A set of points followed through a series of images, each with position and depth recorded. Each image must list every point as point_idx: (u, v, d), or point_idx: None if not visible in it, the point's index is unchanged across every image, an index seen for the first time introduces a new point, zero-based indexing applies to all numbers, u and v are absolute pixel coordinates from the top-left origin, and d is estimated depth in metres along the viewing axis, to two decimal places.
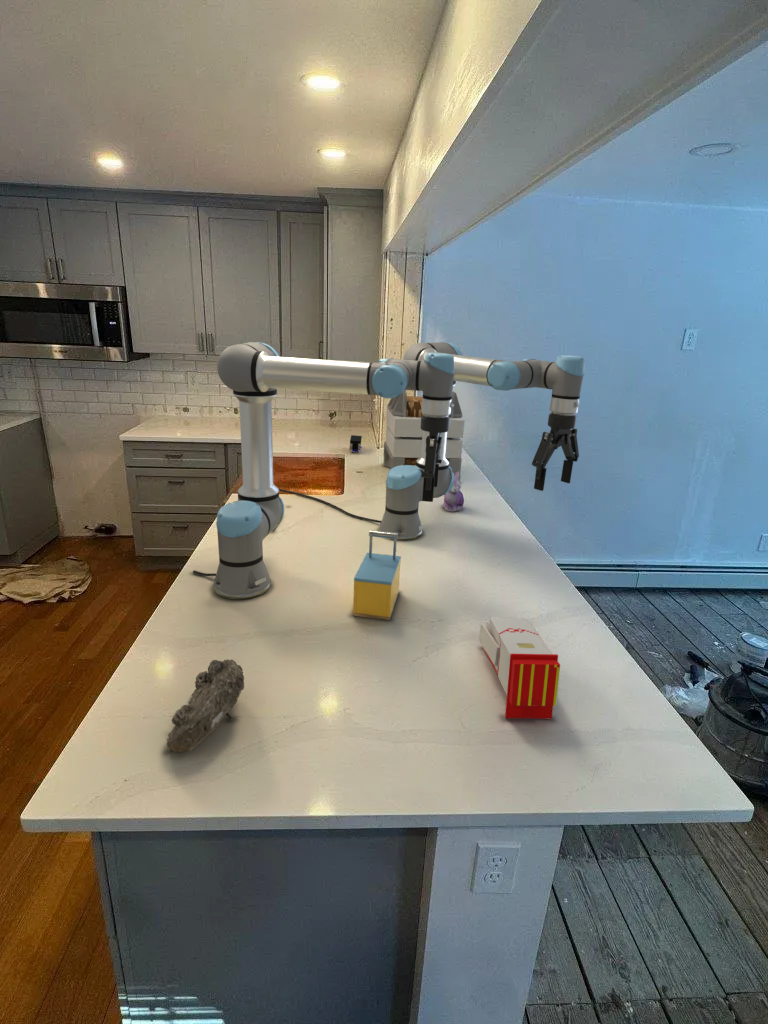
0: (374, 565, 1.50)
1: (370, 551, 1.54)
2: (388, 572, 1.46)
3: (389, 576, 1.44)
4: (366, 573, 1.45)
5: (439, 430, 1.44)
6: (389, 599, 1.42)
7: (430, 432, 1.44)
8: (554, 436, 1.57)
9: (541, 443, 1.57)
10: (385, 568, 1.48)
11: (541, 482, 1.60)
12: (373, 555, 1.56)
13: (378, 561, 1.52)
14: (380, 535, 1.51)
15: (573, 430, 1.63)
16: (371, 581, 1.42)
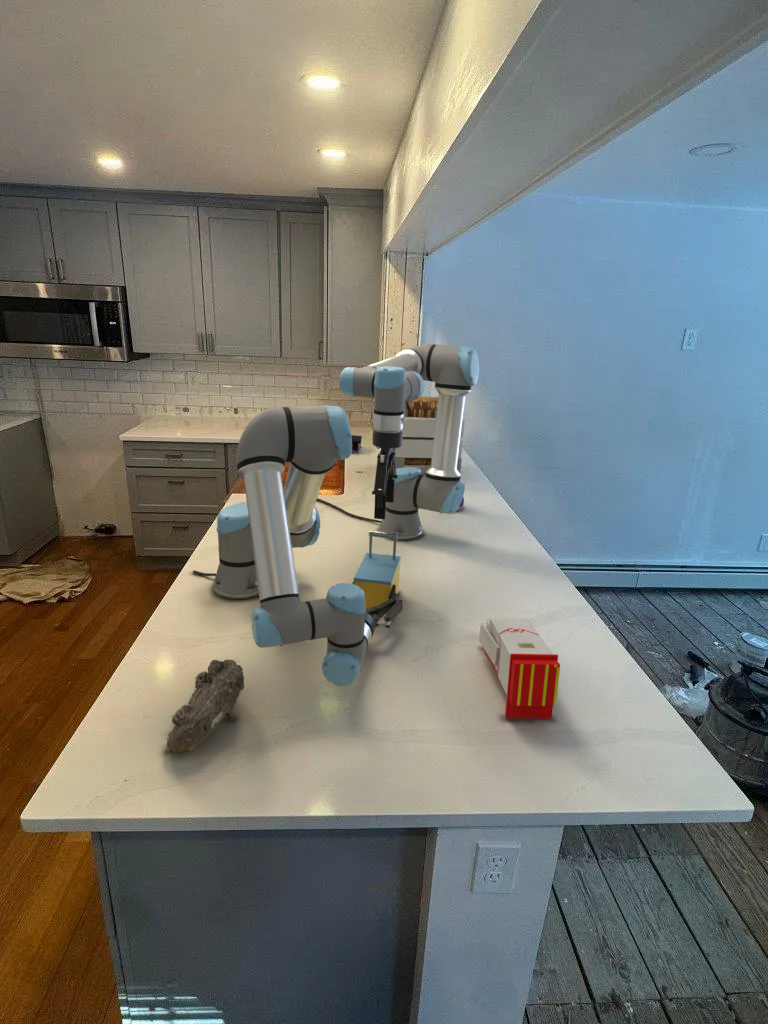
0: (374, 565, 1.50)
1: (370, 551, 1.54)
2: (388, 572, 1.46)
3: (389, 576, 1.44)
4: (366, 573, 1.45)
5: None
6: None
7: None
8: None
9: (378, 468, 1.38)
10: (385, 568, 1.48)
11: (383, 510, 1.42)
12: (373, 555, 1.56)
13: (378, 561, 1.52)
14: (380, 535, 1.51)
15: None
16: (371, 581, 1.42)
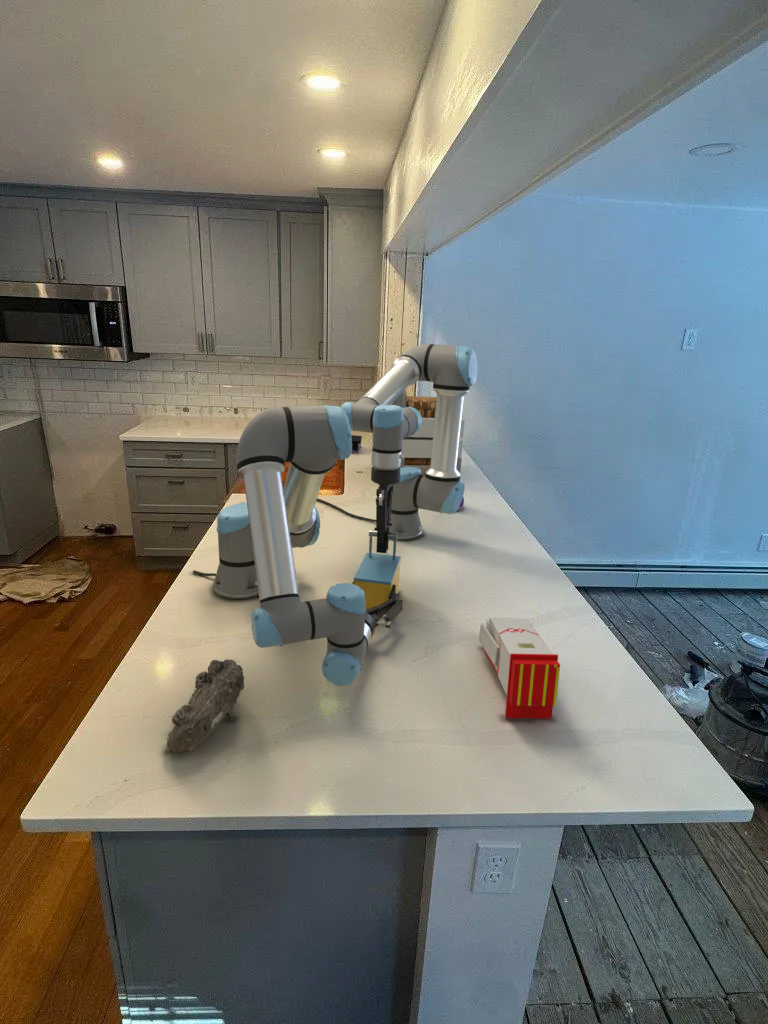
0: (374, 565, 1.50)
1: (370, 551, 1.54)
2: (388, 572, 1.46)
3: (389, 576, 1.44)
4: (366, 573, 1.45)
5: None
6: None
7: None
8: (385, 493, 1.44)
9: (378, 510, 1.44)
10: (385, 568, 1.48)
11: (384, 545, 1.51)
12: (373, 555, 1.55)
13: (378, 561, 1.52)
14: None
15: (390, 486, 1.53)
16: (371, 581, 1.42)
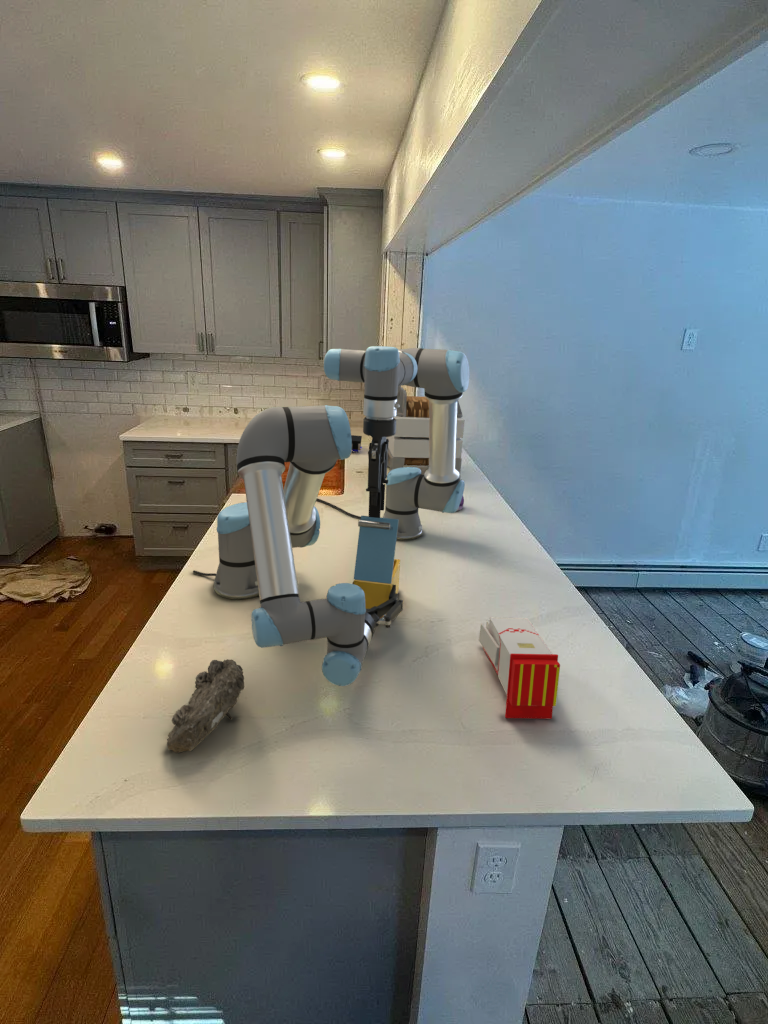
0: (371, 547, 1.42)
1: None
2: (386, 561, 1.41)
3: (388, 571, 1.41)
4: (364, 567, 1.42)
5: None
6: None
7: None
8: (379, 447, 1.27)
9: (370, 464, 1.27)
10: (383, 552, 1.42)
11: (377, 508, 1.33)
12: None
13: (375, 536, 1.42)
14: (371, 527, 1.36)
15: (385, 440, 1.36)
16: (371, 581, 1.42)
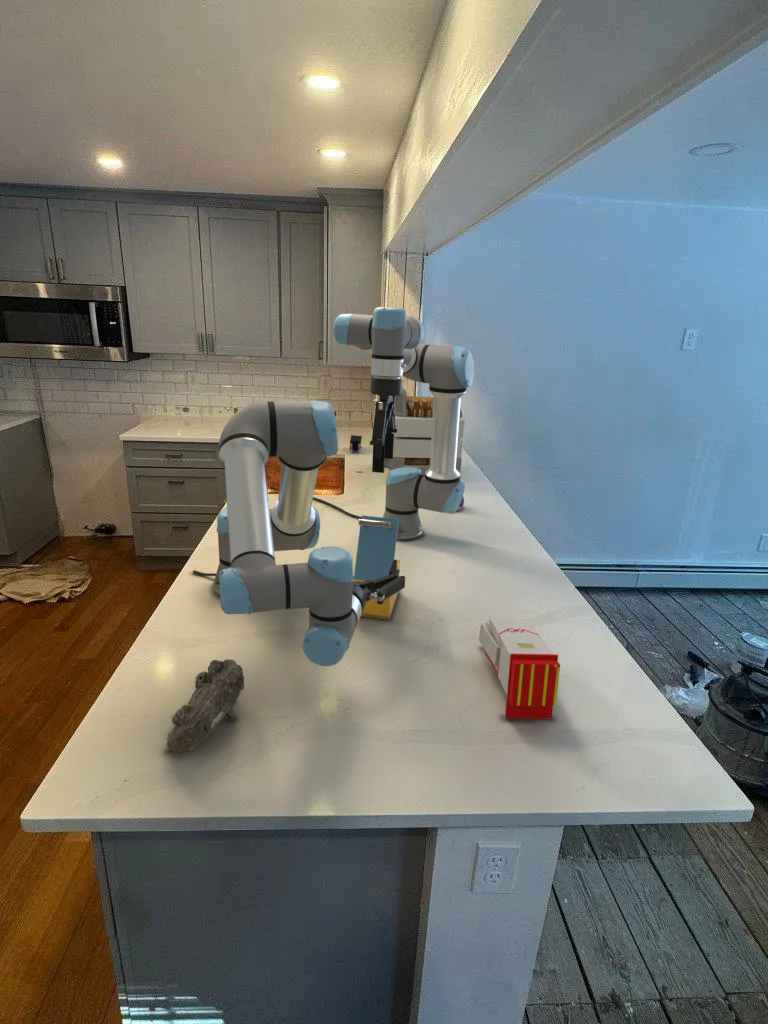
0: (371, 546, 1.43)
1: (364, 526, 1.42)
2: (386, 561, 1.42)
3: (388, 570, 1.41)
4: (364, 567, 1.42)
5: None
6: (389, 599, 1.43)
7: None
8: None
9: (376, 416, 1.29)
10: (383, 552, 1.42)
11: (381, 462, 1.32)
12: None
13: (375, 536, 1.43)
14: (371, 526, 1.36)
15: (392, 397, 1.40)
16: None
